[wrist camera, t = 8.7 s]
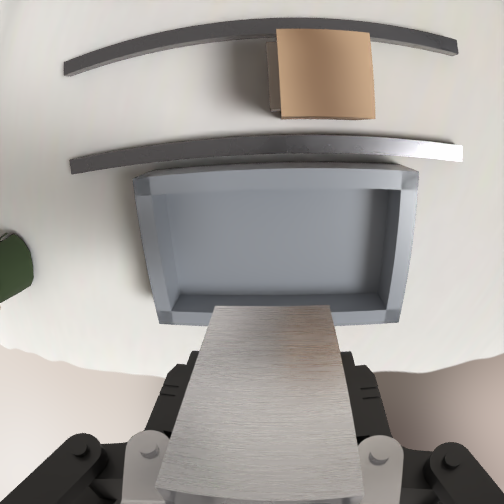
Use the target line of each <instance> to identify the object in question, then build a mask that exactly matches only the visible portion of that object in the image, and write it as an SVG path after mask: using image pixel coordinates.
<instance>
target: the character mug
mask: <svg viewBox="0 0 504 504" xmlns="http://www.w3.org/2000/svg"><path fill="white" fill-rule="evenodd" d="M6 234H8V233H5V234H4V235H3V236H1V237H0V239H1V238H2V237H4V236H5V235H6ZM33 278H34V276H33V264H32V259H31V254H30V251H29V250H28V248H27V247H26V245H25V243H24V242H23V240H21V239H20V238H19V237H18V236H17V235H15V234H12V235H11V236H9V237H8V238H6V239H5V240H2V241H0V303H1V302H3V301H5V300H7V299H9V298H10V297H12V296H14V295H16V294H18V293H19V292H21V291H23V290H24V289H26V288H27V287H29V286H31V284H32V281H33ZM0 308H1V307H0Z"/></svg>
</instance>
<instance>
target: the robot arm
mask: <svg viewBox="0 0 504 504" xmlns="http://www.w3.org/2000/svg"><path fill="white" fill-rule="evenodd" d="M198 354H199V351H192V352H191V354H190V357H189V360H188V362H187V365H185V364H177V365H176V366H175V367H174V368H173V369H172V370H171V371H170V372H169V373H168V374H167V377H166V379H165V382H164V384H163V387H162V389H161V391H160V396H158V398H157V401H156V403H155V406H154V408H153V411H152V413H151V416H150V418H149V420H148V423H147V425H146V428H145V430H144V431H142V432H139V433H137V434H135V435H134V436H132V437H131V439H130V440H129V441H128V442H126V443H114V444H100V442H99V441H98V440H97V438H95V437H94V436H92V435H90V434H86V433H80V434H76V435H73V436H71V437H70V438H68V439H67V440H66V441H65V442H64V443H63V444H62V445H61V446H60V447H59V448H58V449H57V450H56V451H54V453H52V454H51V455H50V456H49V457H48V458H47V459H46V460H45V461H44V462H43V463H42V464H41V465H40V466H38V467H37V468H36V469H35V470H34V471H33V472H32V473H31V474H30V475H29V476H28V477H27V478H26V479H25V480H24V481H22V482H21V483H20V484H19V485H18V486H17V487H16V488H15V489H14V490H13V491H12V492H11V493H10V494H9V495H7V496H6V497H5V498H4V499H3V500H2V501H1V502H0V504H175V503H174V502H173V501H167V500H164V499H163V497H162V496H161V495H160V493H159V492H158V491H157V489H156V488H155V484H156V481H157V478H158V475H159V472H160V468H161V465H162V462H163V459H164V456H165V453H166V450H167V447H168V444H169V441H170V438H171V435H172V432H173V428H174V425H175V422H176V419H177V416H178V413H179V410H180V407H181V404H182V401H183V398H184V395H185V392H186V389H187V386H188V383H189V381H190V378H191V375H192V372H193V369H194V366H195V363H196V360H197V357H198ZM340 355H341V359H342V364H343V369H344V374H345V379H346V384H347V389H348V394H349V399H350V405H351V410H352V416H353V421H354V427H355V433H356V439H357V445H358V452H359V458H360V465H361V472H362V479H363V486H364V494H365V495H364V497H363V498H362V500H361V501H360V503H359V504H504V493H503V492H502V491H501V489H500V488H499V487H498V486H497V484H496V483H495V482H494V481H493V480H492V478H491V477H490V476H489V475H488V473H487V472H486V471H485V470H484V469H483V467H482V466H481V465H480V464H479V463H478V461H477V460H476V459H475V458H474V457H473V455H472V454H471V453H470V452H469V451H468V449H466V447H464V446H463V445H461V444H459V443H454V442H448V443H444V444H441V445H439V446H438V447H437V448H436V449H435V450H434V451H433V452H430V451H418V450H411V449H407V448H405V447H402V446H401V445H400V444H399V443H398V442H397V441H396V440H395V439H393V437H392V435H391V432H390V429H389V425H388V421H387V417H386V414H385V410H384V406H383V403H382V399H381V398H380V397H381V396H380V392H379V389H378V385H377V382H376V379H375V375H374V374H373V373H372V372H371V370H370V369H369V368H368V367H367V366H366V365H360V366H355V364H354V360H353V356H352V353H351V352H350V351H349V352H340Z"/></svg>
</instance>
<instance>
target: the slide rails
mask: <svg viewBox="0 0 504 504" xmlns="http://www.w3.org/2000/svg"><path fill="white" fill-rule="evenodd" d="M276 29H329V30H344V31H356V32H366V33H369V34H370V41H374V42H382V43H389V44H396V45H402V46H408V47H413V48H419V49H424V50H429V51H433V52H438V53H442V54H446V55H450V56H454V55H457V54H458V47H457V40H455V39H451V38H448V37H444V36H440V35H436V34H432V33H428V32H423V31H419V30H414V29H409V28H403V27H398V26H392V25H385V24H379V23H371V22H363V21H353V20H341V19H325V18H266V19H249V20H237V21H227V22H219V23H211V24H204V25H197V26H191V27H186V28H180V29H175V30H170V31H165V32H160V33H156V34H152V35H147V36H143V37H139V38H136V39H132V40H128V41H125V42H121V43H118V44H114V45H111V46H108V47H105V48H102V49H99V50H96V51H93V52H90V53H87V54H84V55H82V56H79V57H76V58H74V59H71V60H69V61H66V62H64V76H73V75H76V74H79V73H82V72H85V71H88V70H91V69H94V68H97V67H100V66H104V65H107V64H110V63H114V62H117V61H121V60H125V59H128V58H132V57H136V56H140V55H145V54H149V53H153V52H158V51H163V50H168V49H173V48H179V47H184V46H190V45H197V44H204V43H211V42H219V41H228V40H239V39H252V38H270V37H277V34H276ZM462 152H463V146H460V145H454V144H446V143H439V142H430V141H421V140H411V139H400V138H387V137H371V136H349V135H268V136H245V137H229V138H216V139H204V140H193V141H184V142H175V143H166V144H158V145H151V146H144V147H137V148H130V149H124V150H118V151H112V152H107V153H101V154H96V155H91V156H86V157H81V158H76V159H72V160H70V167H71V174H77V173H83V172H89V171H95V170H101V169H107V168H114V167H121V166H128V165H135V164H143V163H151V162H160V161H169V160H179V159H190V158H201V157H214V156H230V155H248V154H276V153H348V154H375V155H393V156H408V157H420V158H431V159H441V160H450V161H459V162H462Z"/></svg>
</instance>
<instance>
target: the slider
mask: <svg viewBox="0 0 504 504" xmlns="http://www.w3.org/2000/svg"><path fill="white" fill-rule="evenodd" d="M276 34H277V42H266V48H267V64H268V81H269V98H270V110H271V112H278V111H281V119H336V120H364V119H375V97H374V79H373V65H372V54H371V43H370V34H369V33H366V32H356V31H344V30H329V29H276Z"/></svg>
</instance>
